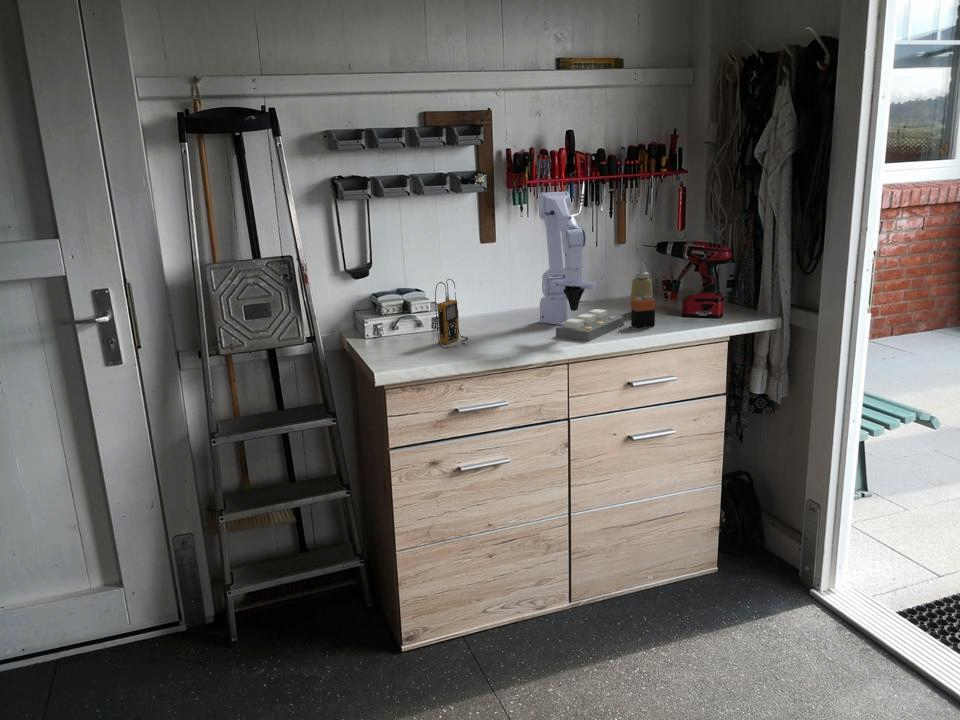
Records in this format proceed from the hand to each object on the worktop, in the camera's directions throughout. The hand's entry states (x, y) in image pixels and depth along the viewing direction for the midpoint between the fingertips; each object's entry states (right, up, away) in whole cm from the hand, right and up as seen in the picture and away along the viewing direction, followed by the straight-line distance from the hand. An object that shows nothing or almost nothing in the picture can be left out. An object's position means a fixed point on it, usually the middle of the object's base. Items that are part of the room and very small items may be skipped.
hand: (574, 310), depth 248 cm
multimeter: (-37, -11, -1) cm, 38 cm away
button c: (+10, -2, +14) cm, 17 cm away
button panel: (+6, -6, +8) cm, 12 cm away
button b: (+5, -4, +8) cm, 10 cm away
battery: (+24, -5, +11) cm, 27 cm away
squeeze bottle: (+28, +1, +30) cm, 41 cm away
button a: (0, -6, +2) cm, 6 cm away
